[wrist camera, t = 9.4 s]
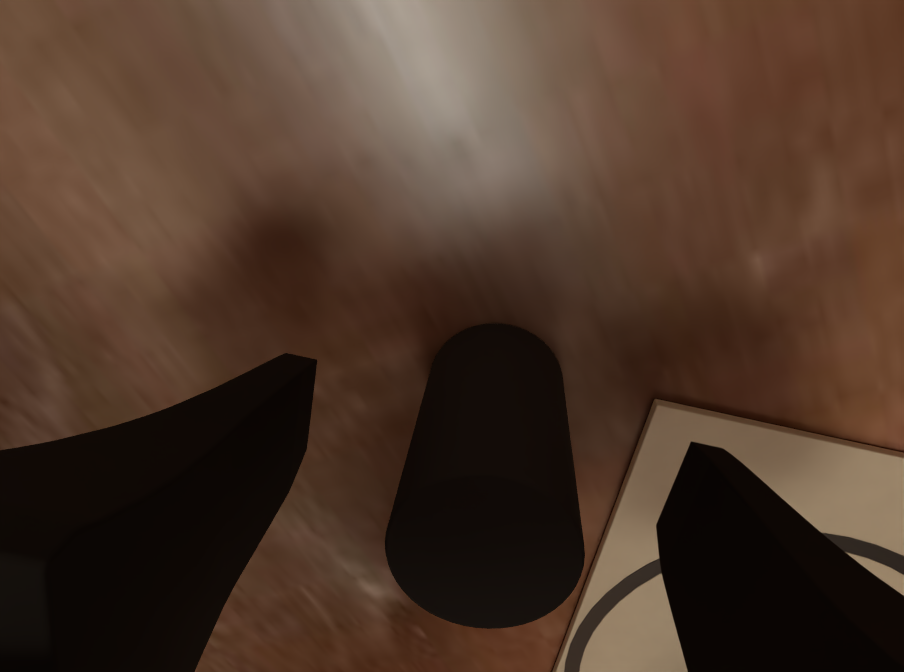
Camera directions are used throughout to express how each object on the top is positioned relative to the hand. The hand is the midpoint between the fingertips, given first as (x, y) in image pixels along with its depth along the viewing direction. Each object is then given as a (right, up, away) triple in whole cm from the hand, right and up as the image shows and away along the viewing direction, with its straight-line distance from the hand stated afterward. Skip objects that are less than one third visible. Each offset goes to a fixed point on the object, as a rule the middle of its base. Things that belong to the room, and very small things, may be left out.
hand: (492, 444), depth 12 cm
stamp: (0, +1, +2) cm, 3 cm away
